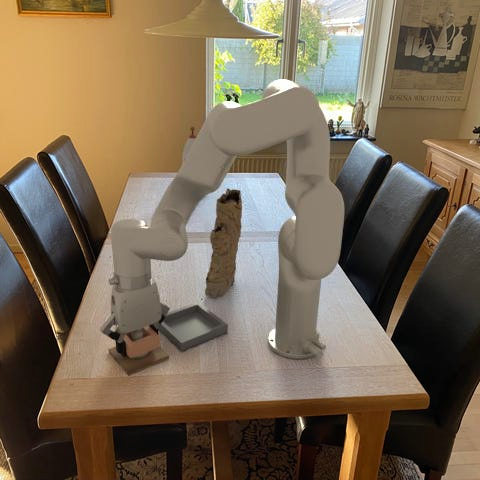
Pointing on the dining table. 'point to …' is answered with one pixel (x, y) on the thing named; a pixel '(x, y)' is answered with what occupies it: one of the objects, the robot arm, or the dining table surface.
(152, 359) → the brown piece
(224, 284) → the tan log
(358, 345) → the dining table surface
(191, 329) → the tray
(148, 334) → the ring
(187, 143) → the toy
